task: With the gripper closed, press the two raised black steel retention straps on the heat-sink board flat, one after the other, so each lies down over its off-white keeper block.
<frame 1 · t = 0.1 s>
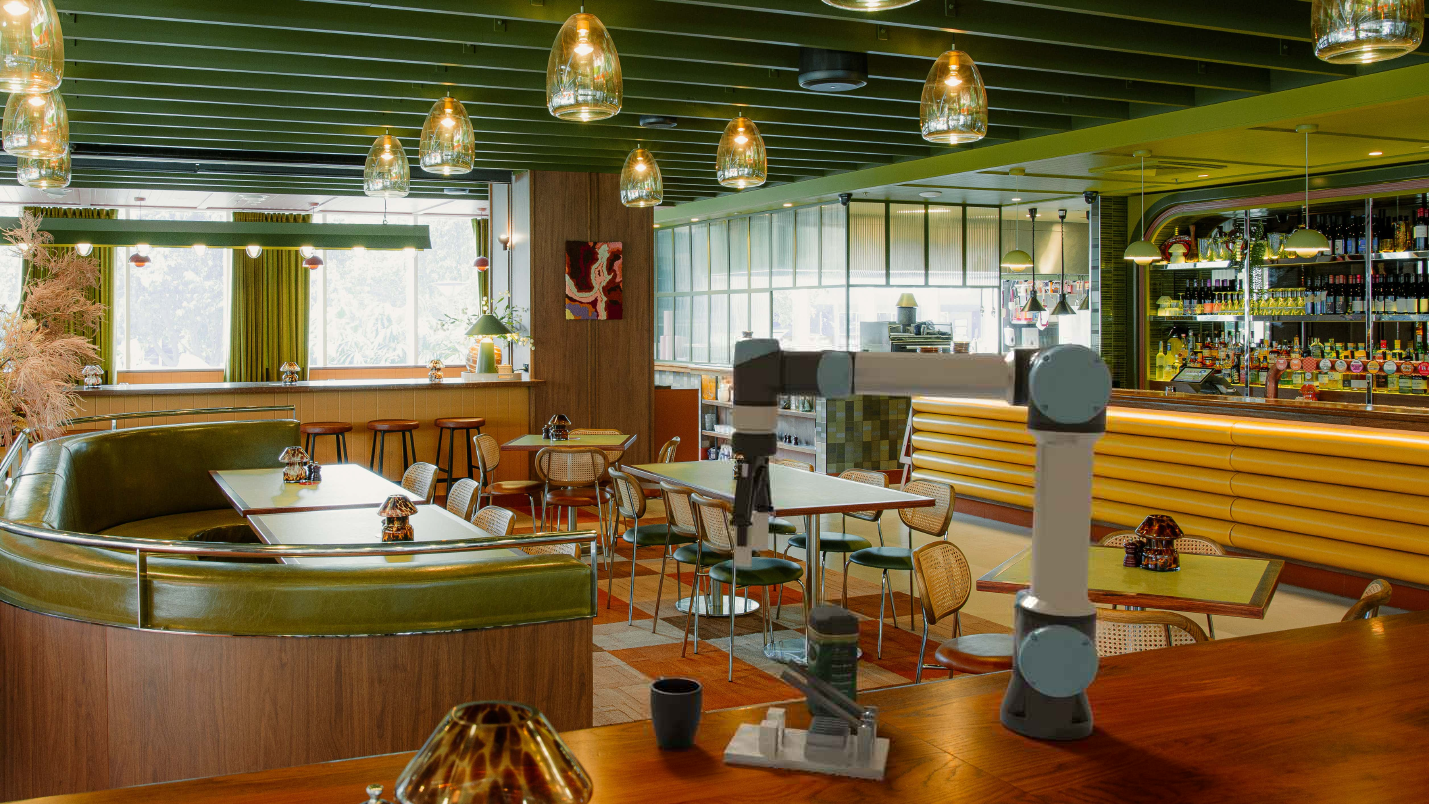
hand: (751, 557, 182), 28 cm above the table, fingers open, 13 cm apart
coffee jar: (830, 714, 189), on the table
outer strap: (825, 703, 165), point 10 cm above the table, hinge at -30.0°
inner strap: (830, 690, 171), point 10 cm above the table, hinge at -30.0°
board: (808, 755, 169), on the table
mug: (672, 741, 175), on the table
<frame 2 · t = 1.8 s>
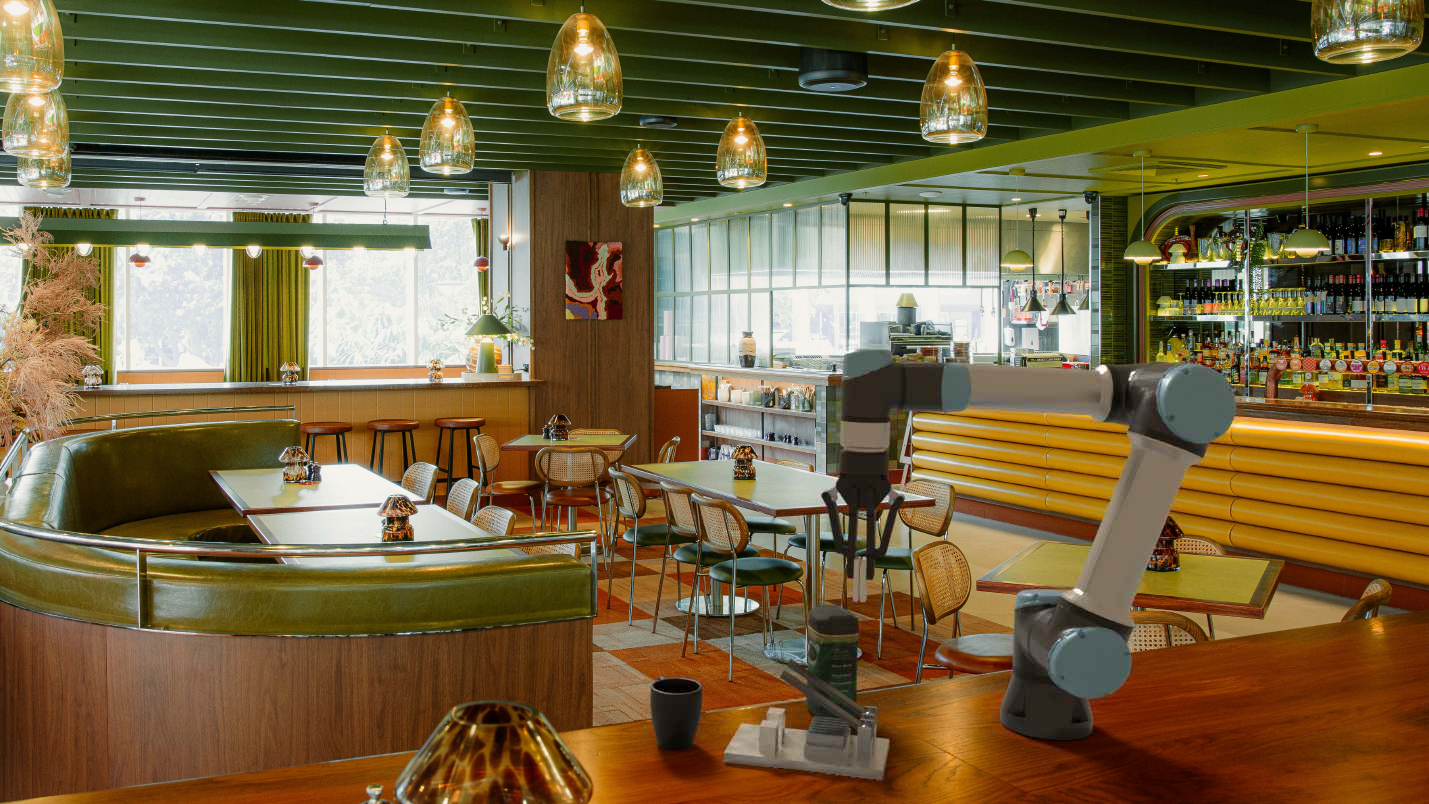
hand: (859, 599, 169), 24 cm above the table, fingers closed
nothing on the table moved.
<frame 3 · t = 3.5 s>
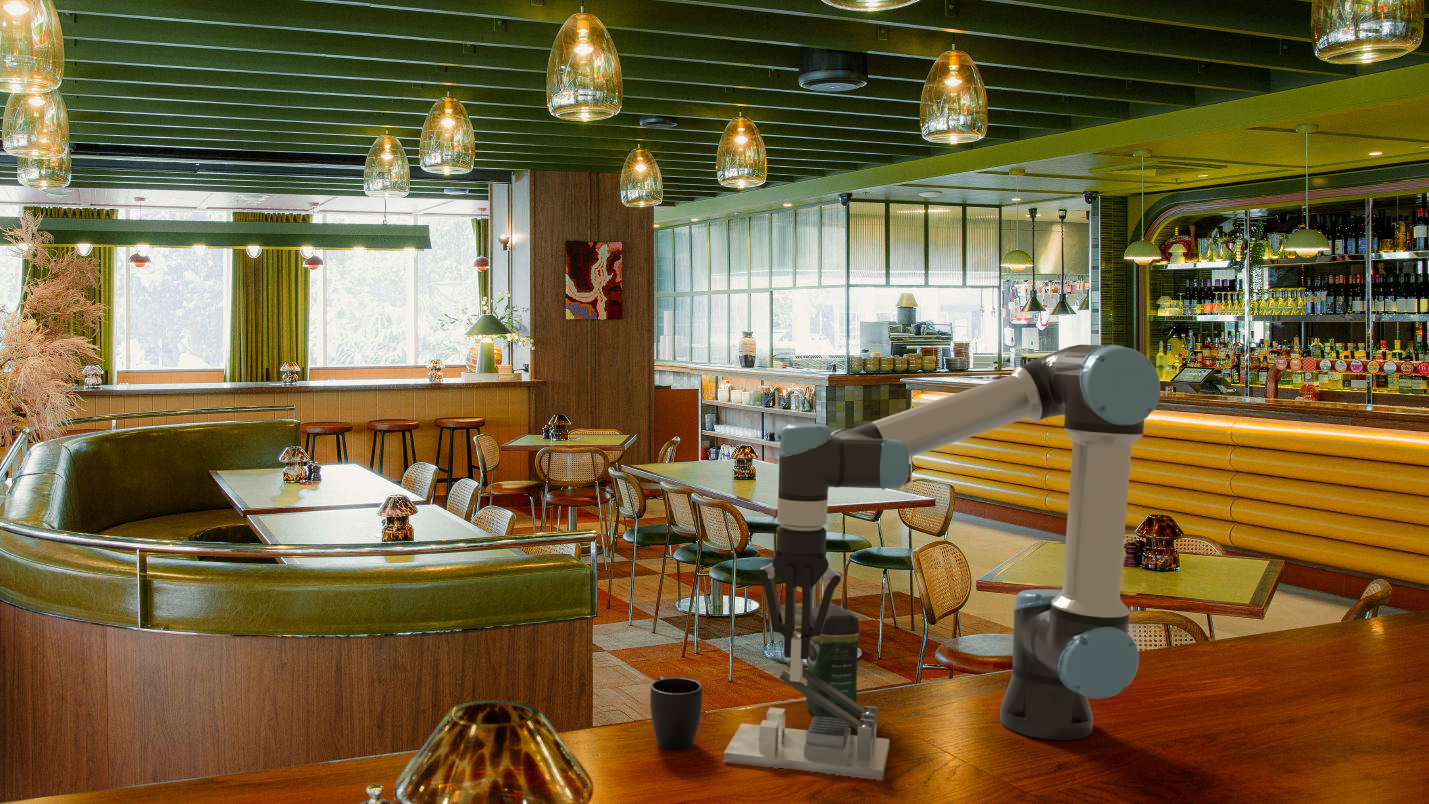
hand: (796, 678, 166), 13 cm above the table, fingers closed
outer strap: (825, 703, 165), point 9 cm above the table, hinge at -29.3°, touching gripper
everything else where it was.
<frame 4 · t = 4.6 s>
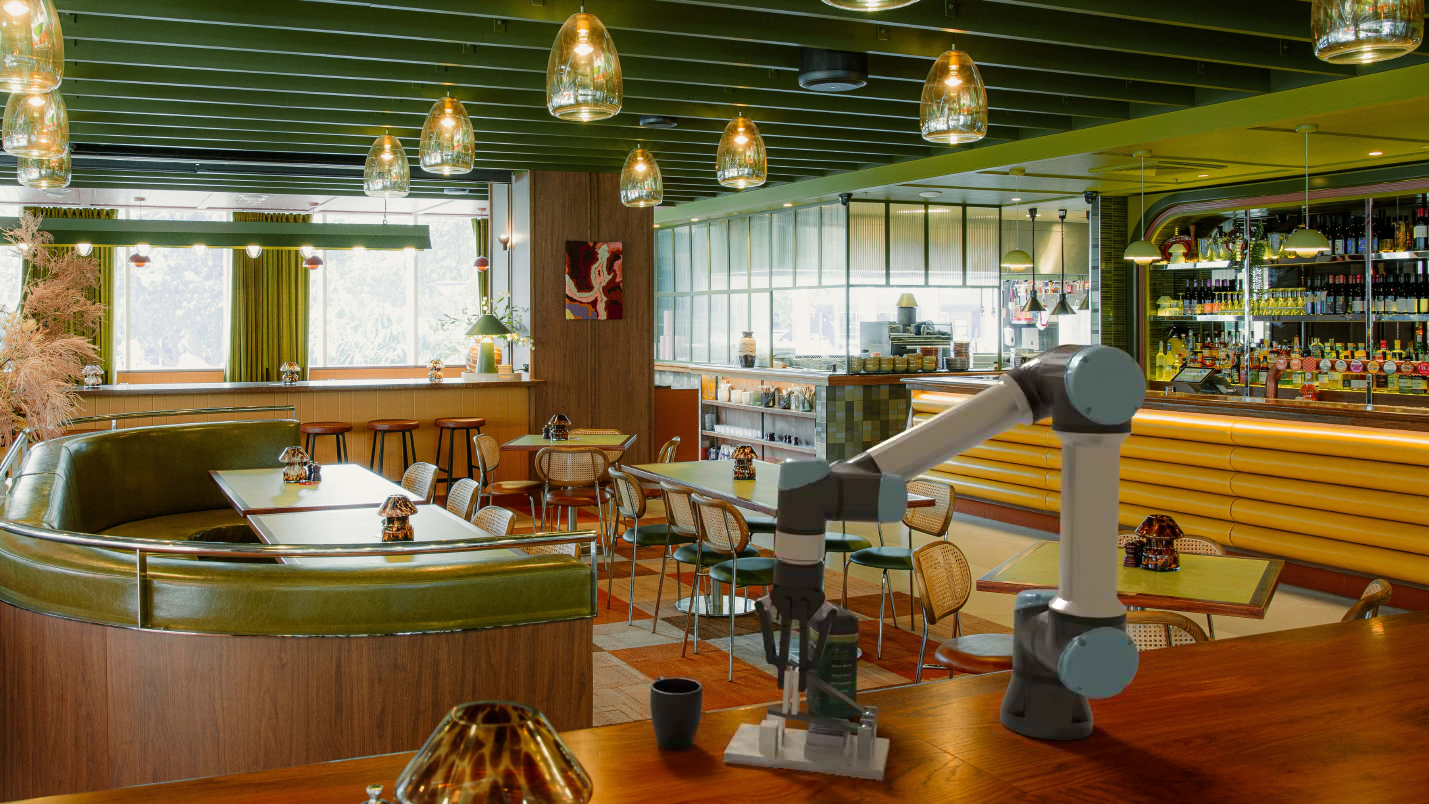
hand: (790, 710, 167), 8 cm above the table, fingers closed, pressing on outer strap
outer strap: (819, 720, 166), point 7 cm above the table, hinge at -6.4°, touching gripper
everything else where it was.
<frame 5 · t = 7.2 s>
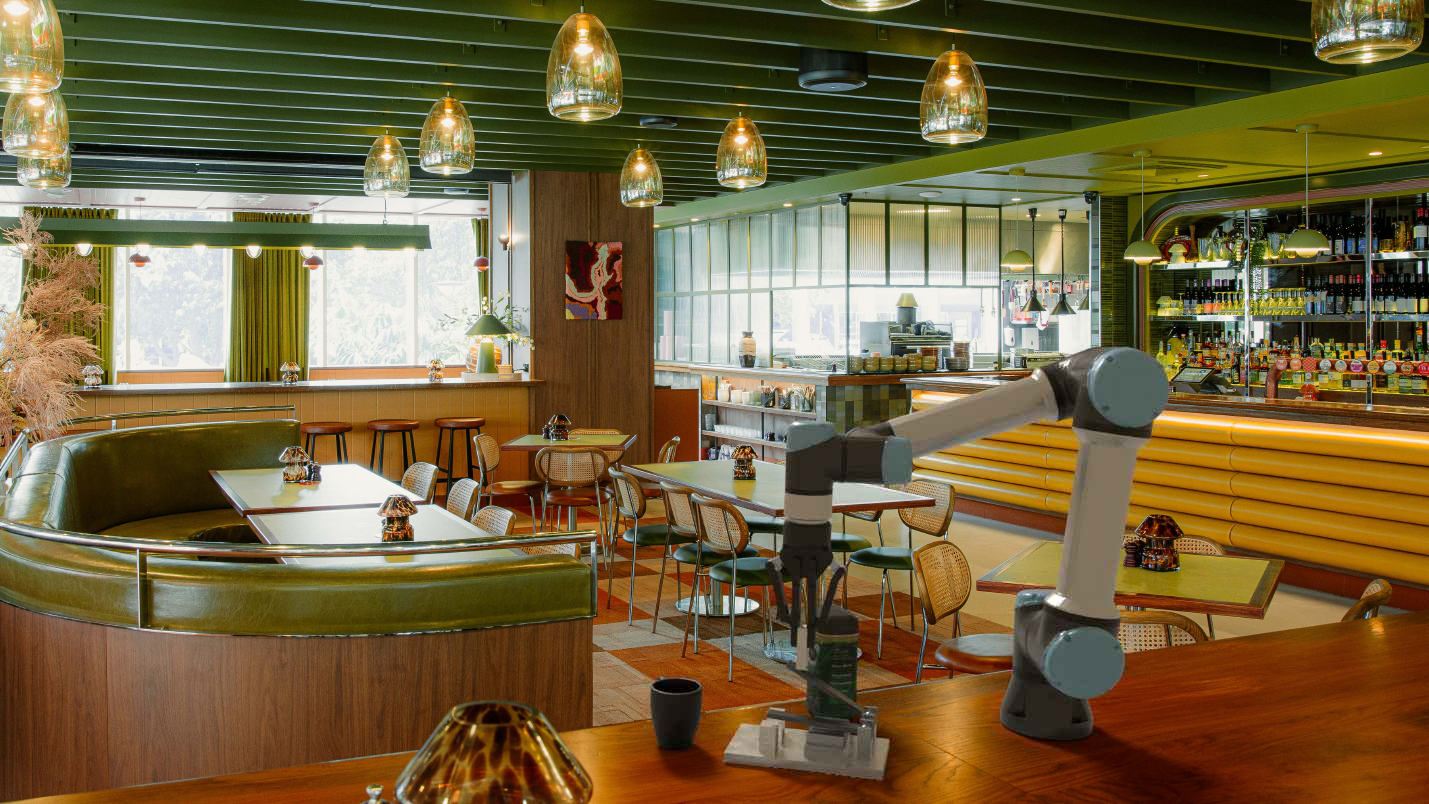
hand: (802, 667, 172), 13 cm above the table, fingers closed
outer strap: (818, 722, 166), point 7 cm above the table, hinge at -4.0°
inner strap: (830, 691, 171), point 9 cm above the table, hinge at -29.3°, touching gripper
everything else where it was.
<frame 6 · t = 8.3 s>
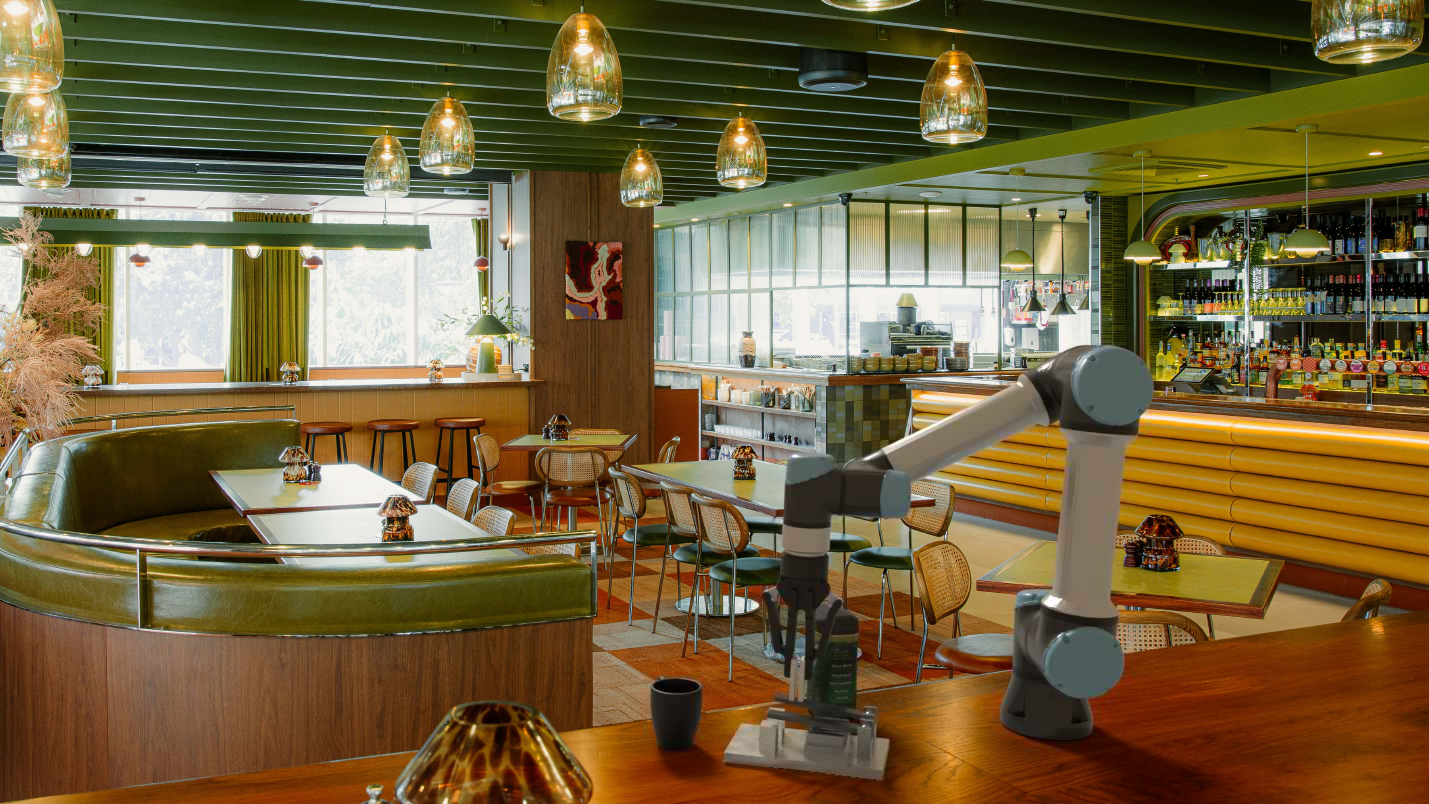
hand: (797, 698, 172), 8 cm above the table, fingers closed, pressing on inner strap
inner strap: (824, 707, 172), point 7 cm above the table, hinge at -6.3°, touching gripper
everything else where it was.
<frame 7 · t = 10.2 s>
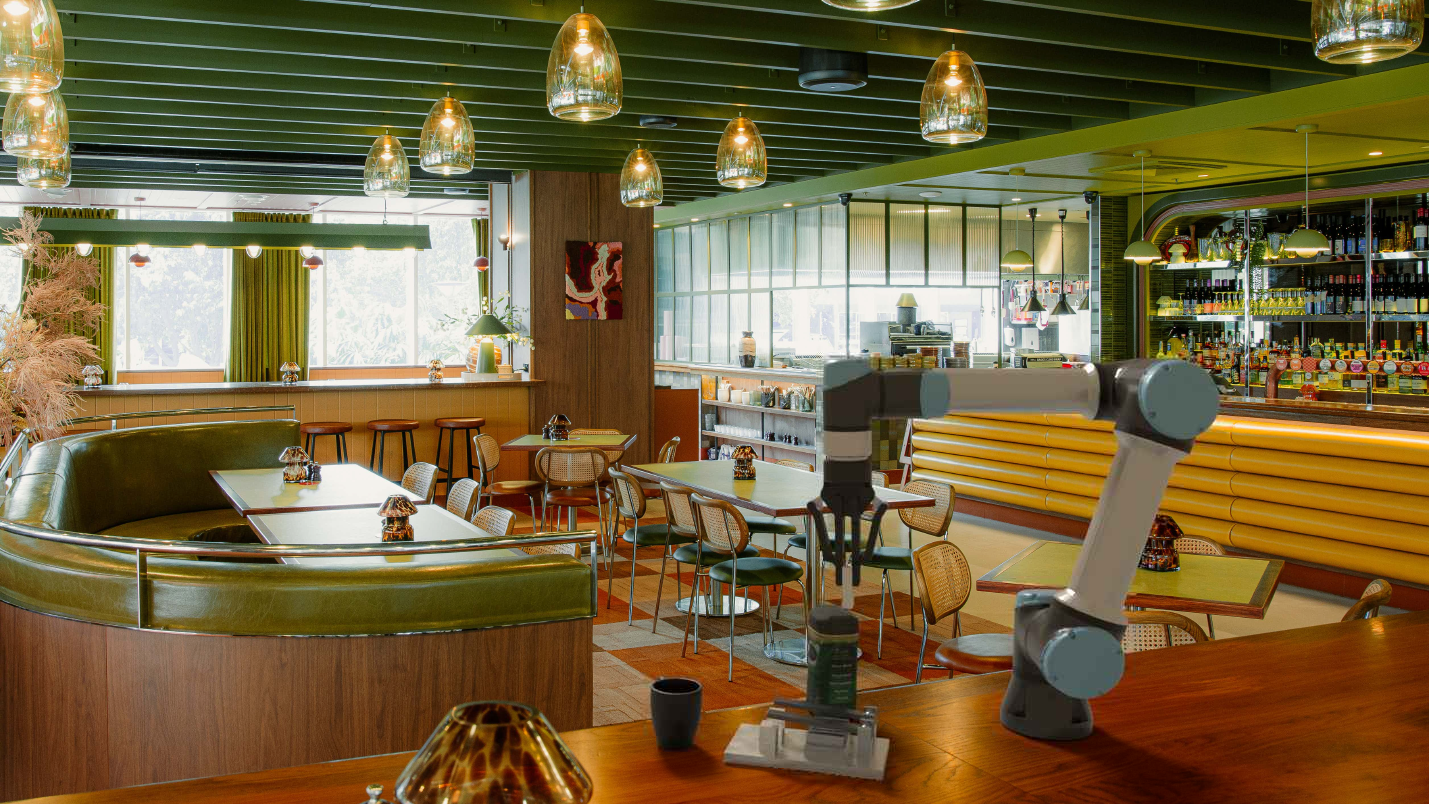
hand: (848, 606, 171), 23 cm above the table, fingers closed
inner strap: (824, 709, 172), point 6 cm above the table, hinge at -4.0°
everything else where it was.
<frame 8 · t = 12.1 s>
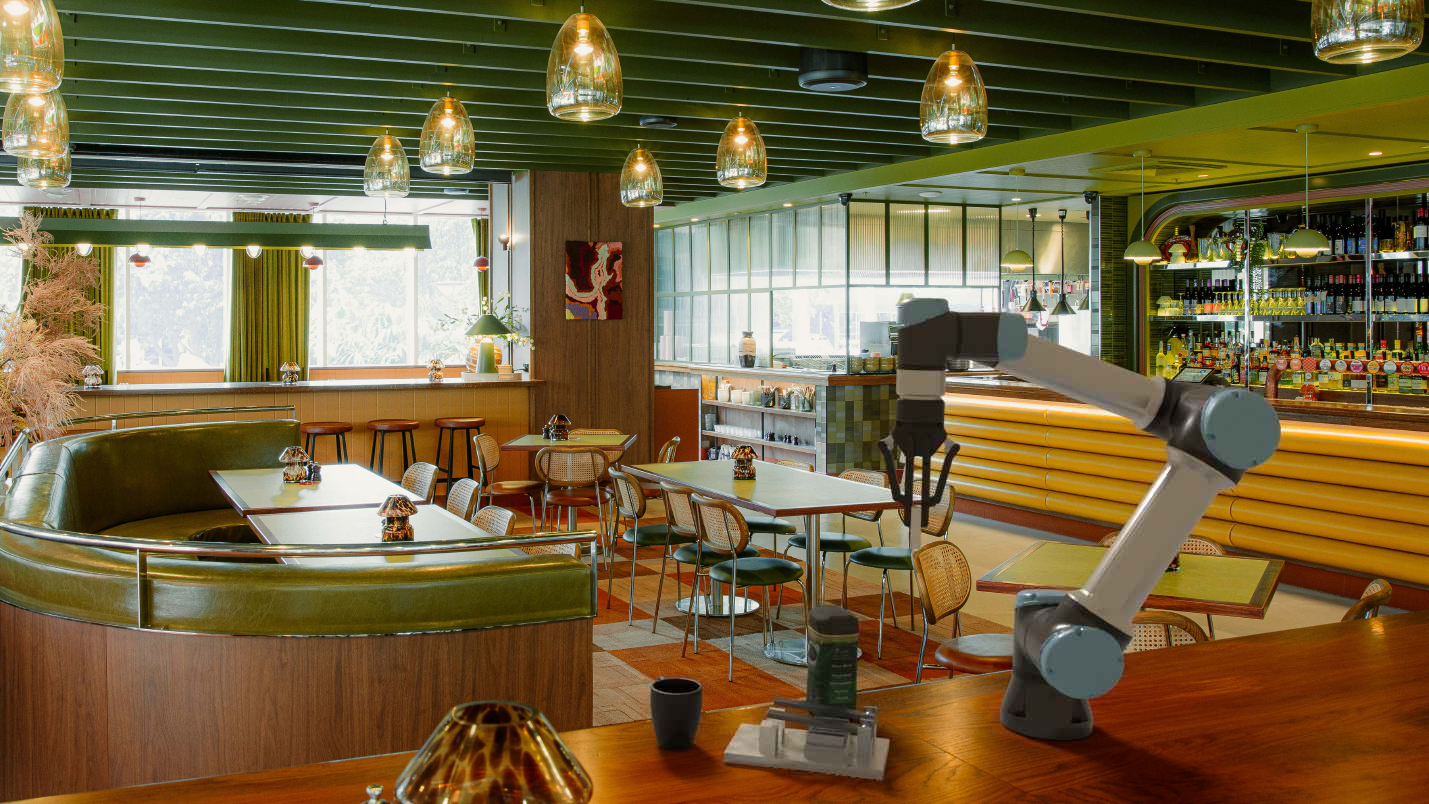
hand: (915, 547, 171), 32 cm above the table, fingers closed
nothing on the table moved.
at the end: outer strap at -4° (first picture: -30°); inner strap at -4° (first picture: -30°) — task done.
